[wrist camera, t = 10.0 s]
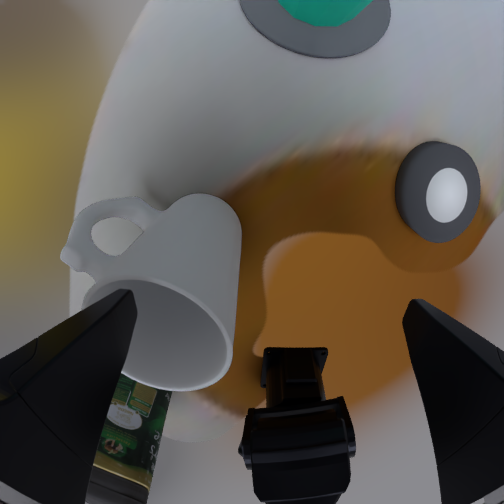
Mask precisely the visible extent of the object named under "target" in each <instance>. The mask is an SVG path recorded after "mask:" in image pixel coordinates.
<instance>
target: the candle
mask: <svg viewBox="0 0 504 504" xmlns="http://www.w3.org/2000/svg"><path fill="white" fill-rule="evenodd" d="M372 1H373V0H278V2H279V4H280V5H281V6H282V7H283V8H284V9H285V10H286V11H288V12H289V13H290V14H291V15H292V16H293V17H294V18H296V19H299V20H301V21H304V22H306V23H309V24H311V25H313V26H333V27H337V26H339V25H341V24H343V23H345V22H347V21H349V20H351V19H353V18H354V17H355V16H357V15H358V14H359V13H360V12H361V11H362V10H363V9H364V8H365V7H366V6H367V5H368V4H369V3H371V2H372Z"/></svg>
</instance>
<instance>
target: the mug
mask: <svg viewBox="0 0 504 504" xmlns="http://www.w3.org/2000/svg"><path fill="white" fill-rule="evenodd" d="M110 217H119V218H124V219H128V220H130V221H132V222H134V223H135V224H137V225H138V226H139V227H140V228H141V229H142V230H143V233H142V234H141V236H140V237H139V238H138V239H137V240H136V241H135V242H134V243H133V244H132V245H131V246H130V247H129V248H128V249H127V250H126V251H125V252H123V253H122V254H121V255H118V256H112V255H108V254H106V253H104V252H103V251H101V250H100V249H99V248H98V247H97V246H96V245H95V244H94V242H93V240H92V236H91V230H92V227H93V226H94V225H95V224H96V223H97V222H99V221H101V220H103V219H106V218H110ZM241 242H242V229H241V224H240V221H239V219H238V216H237V215H236V213H235V212H234V210H233V209H232V208H231V207H230V206H229V205H228V204H227V203H226V202H225V201H223V200H221V199H220V198H218V197H215V196H213V195H209V194H202V193H197V194H190V195H187V196H184V197H182V198H180V199H178V200H177V201H175V202H174V203H173V204H172V205H171V206H170V207H169V208H168V209H166V210H164V211H159V210H156V209H154V208H153V207H151V206H150V205H148V204H147V203H146V202H145V201H143V200H142V199H141V198H139V197H136V196H134V197H125V198H116V199H108V200H103V201H99V202H96V203H94V204H92V205H90V206H88V207H86V208H85V209H83V210H82V211H81V212H80V213H79V215H78V216H77V217H76V219H75V221H74V223H73V225H72V228H71V230H70V233H69V236H68V240H67V243H66V245H65V246H64V248H63V249H62V251H61V255H60V258H61V260H62V261H63V262H64V263H66V264H68V265H69V266H70V267H71V268H73V269H74V270H75V271H77V272H86V273H88V274H89V275H91V276H92V277H93V279H94V280H95V282H96V284H94V285H93V286H92V287H91V288H90V289H89V291H88V292H87V293H86V295H85V297H84V300H83V304H82V310H83V309H85V308H87V307H88V306H90V305H92V304H94V303H95V302H97V301H99V300H100V299H102V298H104V297H106V296H107V295H109V294H111V293H113V292H114V291H116V290H118V289H120V288H122V289H130V290H132V291H133V294H134V298H135V302H136V306H137V311H138V315H137V320H136V324H135V327H134V331H133V335H132V339H131V343H130V347H129V351H128V355H127V358H126V361H125V364H124V366H123V369H122V372H121V373H122V374H124V375H126V376H127V377H129V378H131V379H133V380H135V381H137V382H139V383H142V384H145V385H147V386H150V387H154V388H158V389H163V390H169V391H192V390H198V389H202V388H205V387H208V386H210V385H212V384H214V383H216V382H217V381H219V380H220V379H221V378H222V377H223V376H224V375H225V374H226V372H227V371H228V369H229V367H230V365H231V361H232V356H233V341H234V332H235V320H236V307H237V294H238V281H239V268H240V257H241Z"/></svg>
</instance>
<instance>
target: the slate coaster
mask: <svg viewBox="0 0 504 504" xmlns="http://www.w3.org/2000/svg"><path fill="white" fill-rule="evenodd" d="M240 4H241V7H242V9H243V12H244V13H245V15H246V17H247V19H248V20H249V21H250V22H251V24H252V25H253V26H254V27H255V28H256V29H257V30H258V31H259V32H260V33H261V34H263V35H264V36H265V37H266V38H268V39H269V40H271V41H272V42H274V43H276V44H277V45H280V46H282V47H284V48H286V49H288V50H291V51H293V52H296V53H300V54H303V55H307V56H312V57H320V58H340V57H347V56H351V55H355V54H357V53H360V52H362V51H364V50H366V49H368V48H369V47H371V46H373V45H374V44H375V43H377V42H378V41H379V40H380V39H381V38H382V36H383V35H384V34H385V32H386V30H387V28H388V25H389V23H390V17H391V9H390V3H389V0H373V1H372V2H371V3H369V4H368V5H367V6H366V7H365V8H364V9H363V10H362V11H361V12H360V13H359V14H358V15H357V16H355V17H354V18H353V19H351V20H349V21H347V22H345V23H343V24H341V25H339V26H337V27H333V26H313V25H311V24H309V23H306V22H304V21H301V20H299V19H296V18H294V17H293V16H292V15H291V14H290V13H289V12H288V11H286V10H285V9H284V8H283V7H282V6H281V5H280V4H279V2H278V0H240Z"/></svg>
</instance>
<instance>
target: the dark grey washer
mask: <svg viewBox="0 0 504 504" xmlns="http://www.w3.org/2000/svg"><path fill="white" fill-rule="evenodd" d="M395 198H396V204H397V208H398V211H399V213H400V215H401V217H402V219H403V220H404V222H405V223H406V224H407V225H408V226H409V227H411V228H412V229H413V230H414V231H415V232H416V233H418V234H419V235H420V236H421V237H422V238H424V239H426V240H427V241H430V242H435V243H442V242H447V241H450V240H452V239H454V238H456V237H457V236H459V235H460V234H461V233H462V232H463V231H464V230H465V229H466V228H467V227H468V225H469V224H470V223H471V221H472V219H473V217H474V215H475V213H476V210H477V208H478V204H479V199H480V178H479V173H478V170H477V167H476V165H475V163H474V161H473V160H472V158H471V157H470V156H469V154H468V153H466V152H465V151H464V150H463V149H461V148H459V147H457V146H454V145H450V144H446V143H442V142H437V141H430V142H425V143H422V144H420V145H418V146H417V147H415V148H414V149H413V150H412V151H411V152H410V153H409V154H408V155H407V156H406V158H405V159H404V161H403V162H402V164H401V166H400V169H399V171H398V175H397V179H396V185H395Z"/></svg>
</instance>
